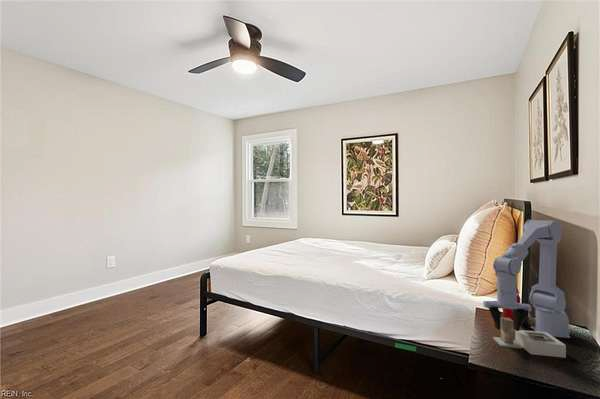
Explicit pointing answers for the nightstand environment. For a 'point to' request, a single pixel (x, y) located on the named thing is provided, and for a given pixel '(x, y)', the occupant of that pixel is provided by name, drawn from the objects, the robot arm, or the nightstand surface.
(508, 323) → the wooden building block
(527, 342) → the guard housing
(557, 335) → the robot arm
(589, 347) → the nightstand surface
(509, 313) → the beverage can
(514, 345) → the pad
